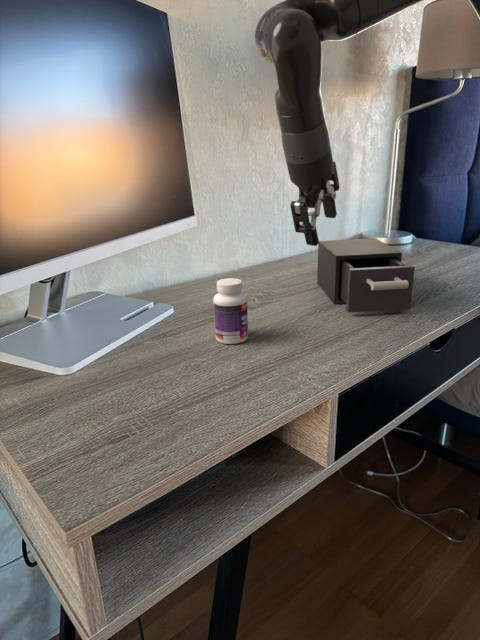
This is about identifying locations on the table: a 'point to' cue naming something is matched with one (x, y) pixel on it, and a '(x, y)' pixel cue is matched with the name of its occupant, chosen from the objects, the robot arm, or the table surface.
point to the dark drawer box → (375, 284)
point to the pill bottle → (230, 312)
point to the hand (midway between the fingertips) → (322, 230)
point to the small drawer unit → (346, 250)
